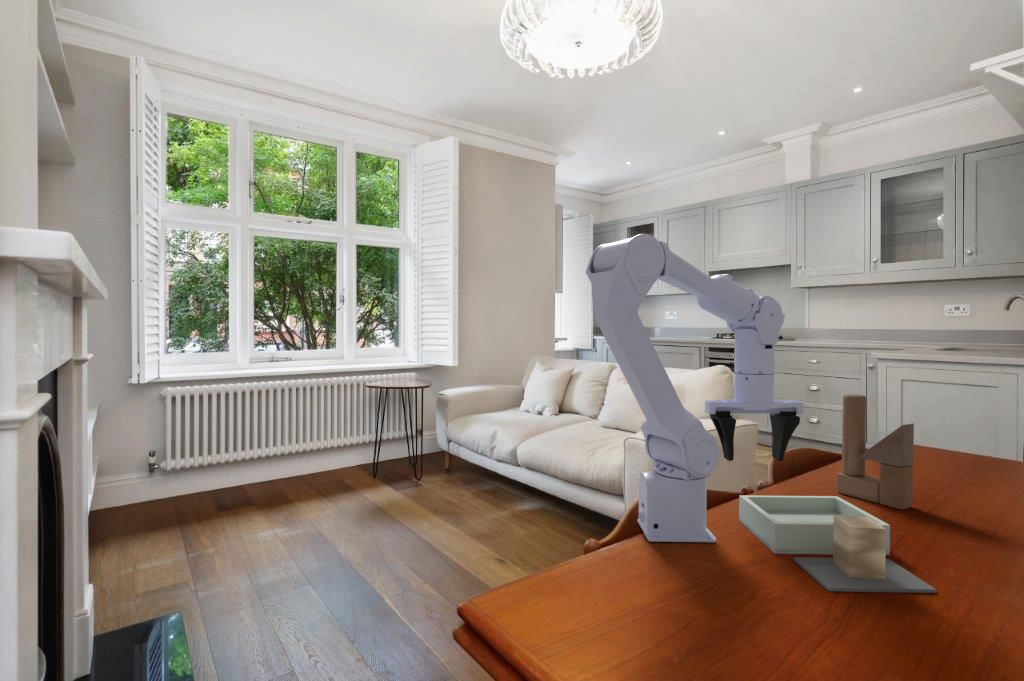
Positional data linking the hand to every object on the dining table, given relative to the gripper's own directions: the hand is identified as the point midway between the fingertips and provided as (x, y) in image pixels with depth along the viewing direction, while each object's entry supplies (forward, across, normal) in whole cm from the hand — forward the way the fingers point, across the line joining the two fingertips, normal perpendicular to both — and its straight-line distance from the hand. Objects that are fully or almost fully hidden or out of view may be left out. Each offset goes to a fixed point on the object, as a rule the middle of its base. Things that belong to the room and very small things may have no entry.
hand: (753, 459), depth 83 cm
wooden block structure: (+10, -25, -10) cm, 29 cm away
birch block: (+9, -5, +18) cm, 21 cm away
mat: (+9, -5, +19) cm, 22 cm away
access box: (+9, -5, +7) cm, 13 cm away
